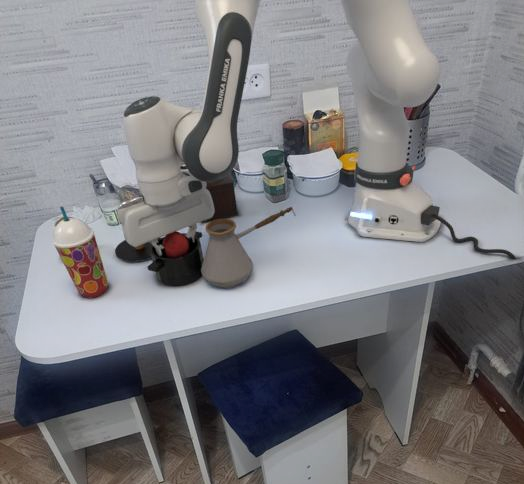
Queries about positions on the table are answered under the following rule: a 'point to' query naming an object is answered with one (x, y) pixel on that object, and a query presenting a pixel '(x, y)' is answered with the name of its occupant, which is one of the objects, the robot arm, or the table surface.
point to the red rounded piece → (175, 245)
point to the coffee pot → (229, 252)
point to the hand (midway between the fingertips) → (176, 248)
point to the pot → (178, 264)
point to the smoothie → (80, 256)
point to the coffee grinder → (221, 198)
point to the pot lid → (133, 251)
